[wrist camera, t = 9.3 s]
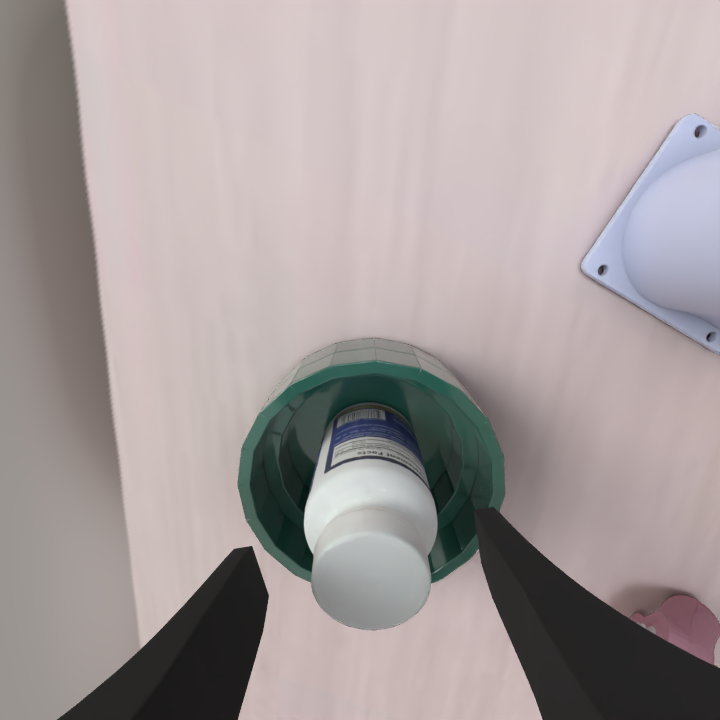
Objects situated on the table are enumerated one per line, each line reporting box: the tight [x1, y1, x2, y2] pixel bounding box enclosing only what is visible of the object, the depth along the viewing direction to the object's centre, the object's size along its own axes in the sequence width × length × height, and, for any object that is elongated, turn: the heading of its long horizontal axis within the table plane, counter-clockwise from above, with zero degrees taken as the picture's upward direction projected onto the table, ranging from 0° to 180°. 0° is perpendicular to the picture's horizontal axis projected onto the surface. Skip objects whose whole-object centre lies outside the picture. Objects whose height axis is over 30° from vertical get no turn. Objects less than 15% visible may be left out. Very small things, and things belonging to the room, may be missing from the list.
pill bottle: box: [304, 402, 437, 630], centre depth 17 cm, size 5×5×10 cm
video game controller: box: [630, 595, 720, 665], centre depth 23 cm, size 10×5×7 cm, turn 163°
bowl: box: [238, 338, 505, 583], centre depth 20 cm, size 12×12×5 cm
